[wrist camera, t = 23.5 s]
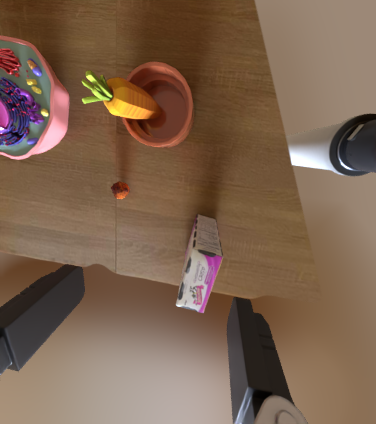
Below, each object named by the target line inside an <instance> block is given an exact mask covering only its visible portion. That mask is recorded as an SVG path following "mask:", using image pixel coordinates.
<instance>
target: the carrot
mask: <svg viewBox="0 0 376 424" xmlns="http://www.w3.org/2000/svg"><path fill="white" fill-rule="evenodd" d="M86 77H87V78H88V79H89V80H90V81H91V82H92V83H93V84H94V85H95V86H93V85H92V84H90V83H89V82H87V81H86V80H84V79H83V80H82V83H83V85H85V86H86V87H88V88H89V89H91V91H92V92H93V93H94V95H96V96H89V97H85V98H83V99H82V101H83V102H84V104H86V103H90V102H95V101H101V100H104V103H105V105H106V107H107V108H108V110H109V111H110V113H112V114H114V115H117V116H122V117H126V118H132V119H154V118H157V117H159V116H161V115H162V110H161V108H160V106H159V105H158V103H157V102H156V101H155V100H154V98H153V97H151V96H150V95H149V94H148V93H147V92H145V91H144V90H143V89H141V88H139V87H138V86H136V85H134V84H132V83H130V82H128V81H127V80H125V79H123V78H120V77H116V78H111V79H108V80H107V83H106V81H105V78H104V76H103V75H101V76H100V80H101V81H100V80H99V79H98V77H97V76H96V75H95V74H94V73H93V72H92V71H87V72H86Z"/></svg>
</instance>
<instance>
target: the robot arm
mask: <svg viewBox="0 0 376 424" xmlns="http://www.w3.org/2000/svg"><path fill="white" fill-rule="evenodd" d="M336 157H337V160H338V162H339V163H340V165H342V166H343V167H344V168H346V169H349V170H354V171H367V172H376V119H375V120H368V121H363V122H359V123H357V124H355V125H353V126H351V127H350V128H349V129H347V130H346V131H345V132H344V133H343V135H342V136H341V138H340V139H339V141H338V144H337V147H336ZM84 292H85V286H84V276H83V269H82V267H79V266H74V265H69V264H66V265H64V266H62V267H61V268H60V269H58V270H57V271H56V272H53V273H50V274H48V275H46V276H44V277H41V278H40V279H38V280H37V281H36V282H34V283H33V284H31V285H30V286H29V288H26V289H25V290H23V291H22V292H20V294H18V295H16V296H15V297H14V298H12V299H11V300H10V301H8V302H7V303H6V304H4V305H3V306H1V307H0V375H1V374H2V373H3V372H4V371H5V370H6V369H11V370H15V371H19V370H20V369H21V368H22V367H23V366H24V365H25V363H26V362H27V361H28V360H29V359H30V358H31V357H32V356H33V354H34V353H35V352H36V351H37V350H38V349H39V348H40V346H41V345H42V344H43V343H44V342H45V341H46V340H47V339H48V337H49V336H50V335H51V334H52V333H53V332H54V331H55V330H56V328H57V327H58V326H59V325H60V324H61V323H62V322H63V321H64V319H65V318H66V317H67V316H68V315H69V314H70V313H71V312H72V310H73V309H74V308H75V307H76V306H77V305H78V304H79V303H80V301H81V300H82V298H83V296H84ZM227 343H228V357H229V371H230V387H231V401H232V416H233V424H308V422H307V421H306V419H305V417H304V416H303V415H302V413H301V412H300V411H299V409H297V407H296V406H295V405H294V402H293V400H292V398H291V395H290V392H289V389H288V386H287V383H286V379H285V376H284V373H283V370H282V366H281V363H280V360H279V357H278V354H277V350H276V347H275V344H274V341H273V339H272V334H271V331H270V328H269V325H268V323H267V322H266V321H265V319H264V318H263V316H262V315H261V314H259V313H254V312H253V309H252V305H251V301H250V300H249V299H244V298H238V297H234V298H233V301H232V305H231V309H230V313H229V317H228V323H227Z"/></svg>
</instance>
